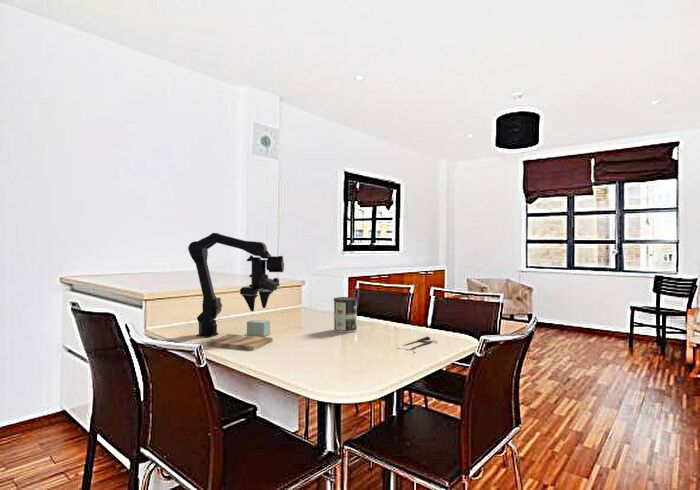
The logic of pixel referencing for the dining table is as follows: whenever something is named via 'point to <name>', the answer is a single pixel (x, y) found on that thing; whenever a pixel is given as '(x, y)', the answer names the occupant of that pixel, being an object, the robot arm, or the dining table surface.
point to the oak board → (240, 342)
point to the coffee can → (345, 314)
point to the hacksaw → (419, 345)
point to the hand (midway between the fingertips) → (258, 309)
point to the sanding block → (258, 328)
